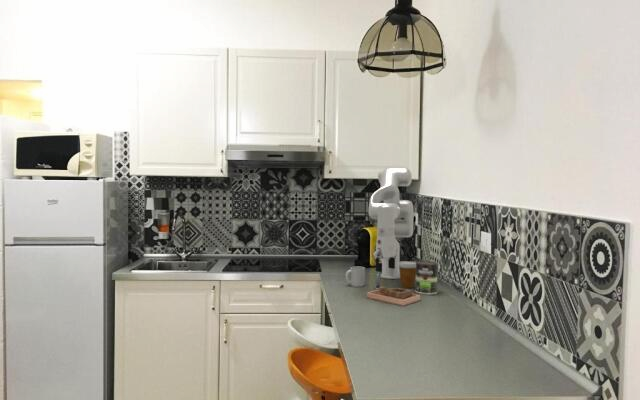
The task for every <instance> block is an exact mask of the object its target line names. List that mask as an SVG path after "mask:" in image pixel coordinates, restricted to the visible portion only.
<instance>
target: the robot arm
mask: <svg viewBox="0 0 640 400" xmlns="http://www.w3.org/2000/svg"><path fill="white" fill-rule="evenodd" d="M412 177H413V176H412V172H411V170H410V169H409V168H408V167H388V168H385V169H383V170H380V171H379V172H378V175H377V179H378V183H379V184H380V188H378V189H377V190H376V191H374V192H373V193H372V194H371V196H370V198H369V204H368V217H370V219H373V220H374V219H375V220H377V225H376V226H377V232H376V234H377V235H376V243H375V251H374V252H373V254H372V256H373V261H374V263H375V272H376V271H377V272H382V274H381V279H390V280H391V279H392V280H393V279H400V270H399V266H398V264H399V262H400V259H401V258H400V257H401V256H400V252H401V251H400V250H401V248H400V243H399V241H398V240H397V239H396V238H410V237H412V236H413V233H414V205H413V201H410V200H407V199H405V200H404V199H400V190H399V187H409V186H411V184H412V180H413V178H412ZM398 218H403V219H398Z"/></svg>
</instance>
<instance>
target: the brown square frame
mask: <svg viewBox="0 0 640 400" xmlns="http://www.w3.org/2000/svg"><path fill="white" fill-rule="evenodd" d="M412 293H413V290H411V289H407V288H403V287H394V288H393V287H389V286H384V285H383V286H382V285H381V287H379V295H383V296H388V297H392V298H397V299H402V300H404V299H407V298H410V297H412Z"/></svg>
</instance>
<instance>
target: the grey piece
mask: <svg viewBox="0 0 640 400" xmlns="http://www.w3.org/2000/svg"><path fill="white" fill-rule="evenodd" d="M375 273H376V275H375V286H374V287H373V290H378V289H379V287H382V285H381V279H382V277H381V274H382V272H377V271H376V270H375Z"/></svg>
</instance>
